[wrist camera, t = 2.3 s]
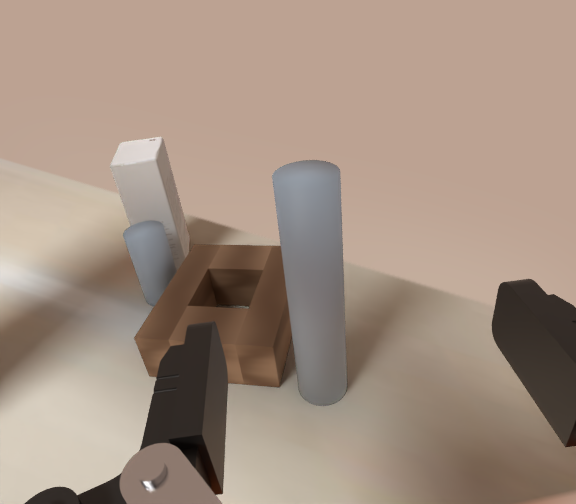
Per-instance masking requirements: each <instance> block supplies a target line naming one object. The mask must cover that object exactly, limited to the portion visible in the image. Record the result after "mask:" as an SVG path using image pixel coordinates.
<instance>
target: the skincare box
mask: <svg viewBox="0 0 576 504" xmlns="http://www.w3.org/2000/svg"><path fill="white" fill-rule="evenodd" d="M110 168H111V171H112V174H113V177H114V179H115V182H116V185H117V188H118V191H119V194H120V197H121V200H122V203H123V206H124V208H125V211H126V214H127V217H128V220H129V223H130V226H132V225H134V224H137V223H139V222H143V221H159V222H161V223H162V224H163V225H164V229H165V232H166V236H167V239H168V242H169V246H170V249H171V253H172V256H173V260H174V263H175V267H176V270H177V271H178V269H179V267H180V266H181V264H182V263H183V261H184V260H185V258H186V256H187V255H188V253H189V242H190V237H189V233H188V230H187V226H186V222H185V218H184V214H183V211H182V207H181V203H180V200H179V196H178V192H177V189H176V185H175V181H174V177H173V174H172V170H171V166H170V162H169V158H168V154H167V151H166V147H165V144H164V140H163V138H162V137H156V138H149V139H141V140H134V141H127V142H122V143H120V145H119V147H118V149H117V151H116V154H115V156H114V158H113V160H112V163H111V164H110Z"/></svg>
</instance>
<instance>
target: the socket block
mask: <svg viewBox="0 0 576 504" xmlns="http://www.w3.org/2000/svg"><path fill="white" fill-rule="evenodd" d="M216 305H239V306H249V309H245V308H224V307H216ZM212 321H215V323H216V325H217V328H218V332H219V336H220V340H221V344H222V347H223V351H224V355H225V359H226V364H227V372H228V383H235V384H246V385H258V386H270V387H280V383H281V379H282V375H283V371H284V367H285V362H286V358H287V354H288V350H289V346H290V342H291V338H292V331H291V323H290V315H289V307H288V299H287V291H286V283H285V275H284V267H283V259H282V251H281V246H252V245H199V244H194V246H193V247H192V249H191V250H190V252H189V253H188V255H187V256H186V258H185V260H184V261H183V263H182V264H181V266H180V267H179V269H178V271H177V272H176V274H175V275H174V277H173V278H172V280H171V281H170V283H169V285H168V286H167V288H166V289H165V291H164V292H163V294H162V295H161V297H160V299H159V300H158V302H157V303H156V305H155V306H154V308H153V309H152V311H151V313H150V314H149V316H148V317H147V319H146V320H145V322H144V323H143V325H142V327H141V328H140V330H139V331H138V333H137V334H136V336H135V337H134V339H135V341H136V344H137V346H138V349H139V351H140V354H141V356H142V359H143V361H144V364H145V366H146V369H147V371H148V374H149V376H152V377H157V373H158V368H159V364H160V361H161V359H162V358H163V356H164V355H165V354H166V352H167V351H168V349H169V348H170V346H175V345H182V344H184V341H185V336H186V330H187V326H188V325H190V324H198V323H205V322H212Z"/></svg>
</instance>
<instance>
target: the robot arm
mask: <svg viewBox="0 0 576 504" xmlns="http://www.w3.org/2000/svg"><path fill="white" fill-rule="evenodd" d="M492 333H493V337H494V340H495V342H496V344H497V346H498V348H499V349H500V351H501V352H502V354H503V355H504V356H505V358H506V359H507V361H508V362H509V364H510V365H511V367H512V368H513V370H514V371H515V373H516V374H517V376H518V377H519V379H520V380H521V382H522V383H523V385H524V386H525V388H526V389H527V391H528V392H529V394H530V395H531V397H532V398H533V400H534V401H535V403H536V404H537V406H538V407H539V409H540V410H541V412H542V413H543V415H544V416H545V418H546V419H547V421H548V422H549V424H550V425H551V427H552V428H553V429H554V431H555V432H556V434H557V435H558V437H559V438H560V440H561V441H562V443H563V444H564V446H565V447H570V446H576V308H575V307H574V306H573V305H572V304H570V303H568V302H566V301H564V300H563V299H561V298H559V297H558V296H556V295H554V294H553V295H547V294H546V293H545V292H544V291H543V290H542V289H541V288H540V286H539V285H538V284H537V283H536V282H535V281H533V280H532V279H526V280H517V281H510V282H503V283H501V284H500V286H499V289H498V294H497V299H496V304H495V310H494V315H493V320H492ZM227 390H228V372H227V364H226V359H225V355H224V351H223V347H222V344H221V340H220V336H219V332H218V328H217V325H216V323H215V321H212V322H205V323H198V324H190V325H188V326H187V330H186V336H185V341H184V344H182V345H175V346H170V348H169V349H168V351H167V352H166V354H165V355H164V356H163V358H162V359H161V361H160V364H159V368H158V373H157V381H156V382H155V386H154V394H153V395H152V400H151V405H150V409H149V414H148V418H147V423H146V427H145V432H144V436H143V441H142V445H141V448H140V450H139V452H137V453H136V454H135V455H134V456H133V457H132V458H131V459H130V460H129V461H128V463H127V464H126V466H125V467H124V469H123V471H122V473H121V474H120V475H118V476H117V477H115V478H114V479H112V480H110V481H108V482H106V483H104V484H101V485H99V486H97V487H95V488H93V489H90V490H88V491H86V492H84V493H81V494H79V495H76V493H75V492H74V491H73V490H71V489H69V488H66V487H53V488H50V489H47V490H44V491H42V492H40V493H38V494H36V495H35V496H33V497H32V498H31V499H29V500H28V501H27V502H26V503H25V504H222V503H221V501H220V500H219V499H218V498H217V496H216V495H218V494H223V479H224V457H225V435H226V412H227Z"/></svg>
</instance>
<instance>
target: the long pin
mask: <svg viewBox="0 0 576 504" xmlns="http://www.w3.org/2000/svg"><path fill="white" fill-rule="evenodd" d="M272 179H273V187H274V195H275V202H276V211H277V219H278V226H279V235H280V243H281V251H282V259H283V267H284V275H285V283H286V291H287V299H288V307H289V315H290V323H291V331H292V339H293V347H294V355H295V363H296V371H297V379H298V387H299V392H300V394H301V396H302V397H303V398H304V399H305V400H306V401H308V402H309V403H311V404H314V405H319V406H326V405H331V404H334V403H336V402H338V401H339V400H340V399H341V398H342V397H343V396H344V395H345V393H346V390H347V365H346V335H345V304H344V274H343V244H342V213H341V183H340V169H339V168H338V167H337V166H336V165H334V164H332V163H330V162H326V161H319V160H306V161H299V162H294V163H290V164H287V165H284V166H282V167H280V168H279V169H277V170H276V171H275V172H274V173H273V175H272Z"/></svg>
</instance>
